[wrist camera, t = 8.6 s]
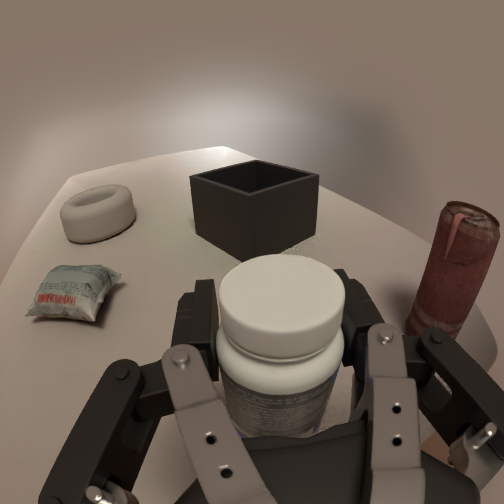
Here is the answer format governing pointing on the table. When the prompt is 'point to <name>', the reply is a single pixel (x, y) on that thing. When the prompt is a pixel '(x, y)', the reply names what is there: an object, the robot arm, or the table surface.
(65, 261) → the table surface
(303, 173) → the trash bin
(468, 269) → the can
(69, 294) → the packaged food
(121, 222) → the donut shape
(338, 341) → the pill bottle
